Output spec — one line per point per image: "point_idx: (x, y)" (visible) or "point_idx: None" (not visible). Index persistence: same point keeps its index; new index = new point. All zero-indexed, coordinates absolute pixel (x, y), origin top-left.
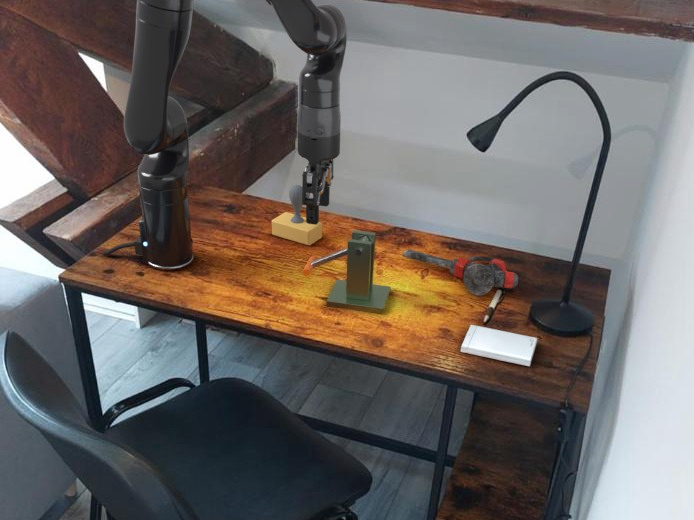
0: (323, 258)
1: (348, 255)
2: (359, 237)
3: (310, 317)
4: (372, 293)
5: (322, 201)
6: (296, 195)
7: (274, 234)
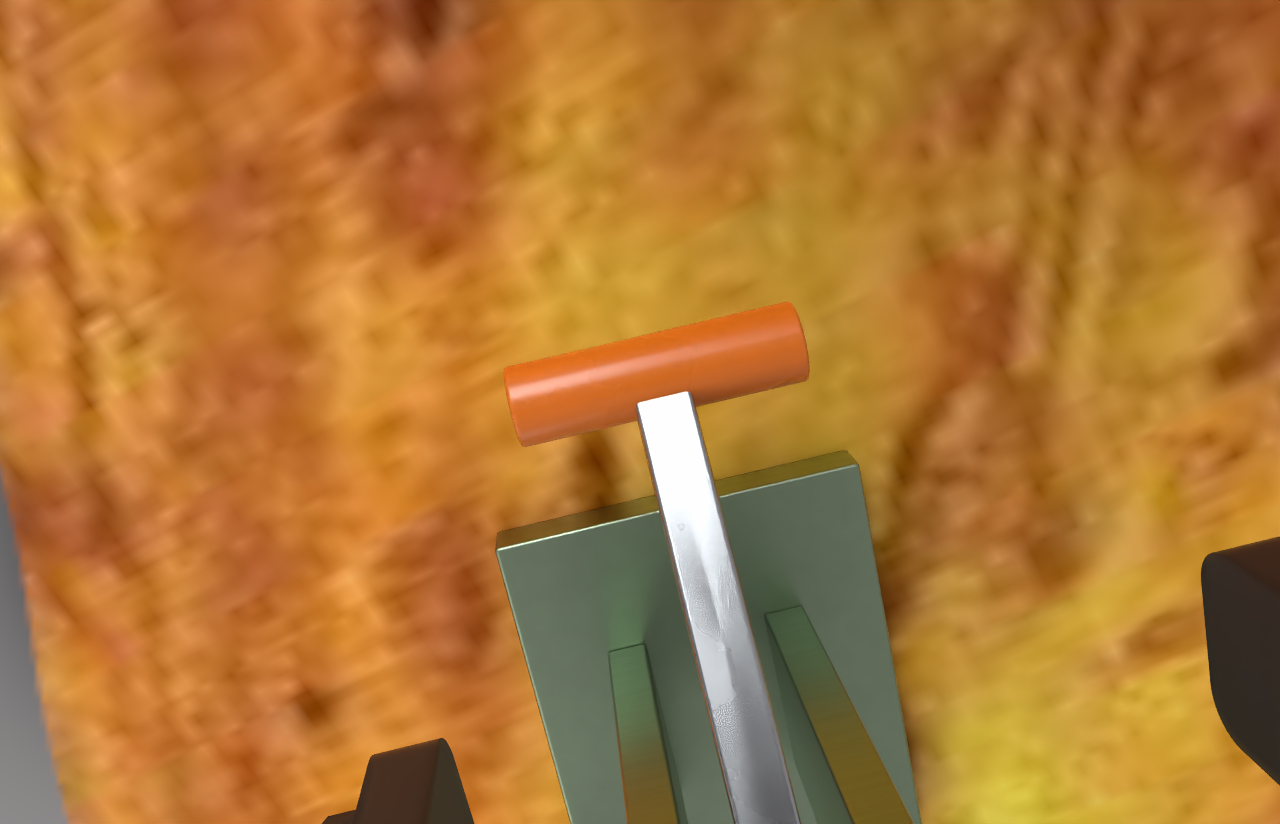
0: (686, 548)
1: None
2: None
3: (283, 504)
4: None
5: (1256, 669)
6: None
7: None
